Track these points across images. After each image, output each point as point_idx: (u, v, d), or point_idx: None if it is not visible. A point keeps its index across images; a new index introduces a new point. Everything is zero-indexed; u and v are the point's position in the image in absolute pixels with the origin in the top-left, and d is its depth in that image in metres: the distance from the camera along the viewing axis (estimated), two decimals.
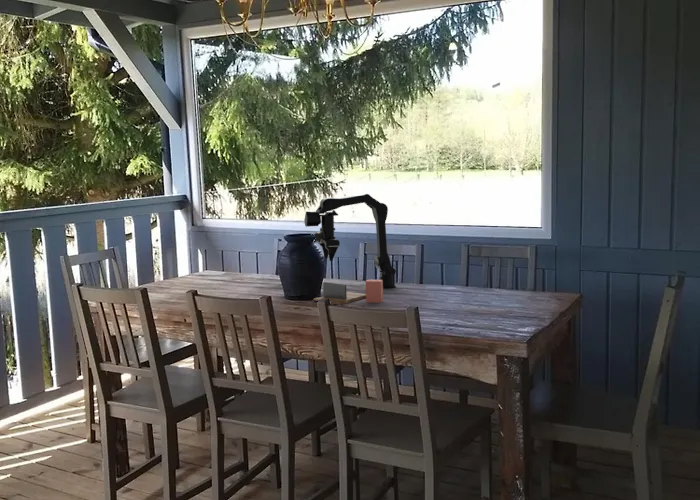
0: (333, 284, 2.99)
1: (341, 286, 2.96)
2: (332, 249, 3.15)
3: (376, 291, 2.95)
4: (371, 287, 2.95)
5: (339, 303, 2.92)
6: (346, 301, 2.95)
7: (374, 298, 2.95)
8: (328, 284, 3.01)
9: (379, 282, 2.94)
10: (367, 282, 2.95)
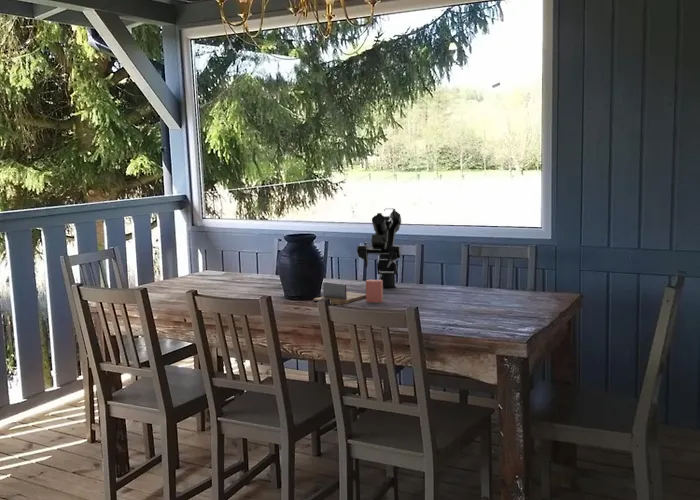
0: (333, 284, 2.99)
1: (341, 286, 2.96)
2: (391, 258, 3.05)
3: (376, 291, 2.95)
4: (371, 287, 2.95)
5: (339, 303, 2.92)
6: (346, 301, 2.95)
7: (374, 298, 2.95)
8: (328, 284, 3.01)
9: (379, 282, 2.94)
10: (367, 282, 2.95)
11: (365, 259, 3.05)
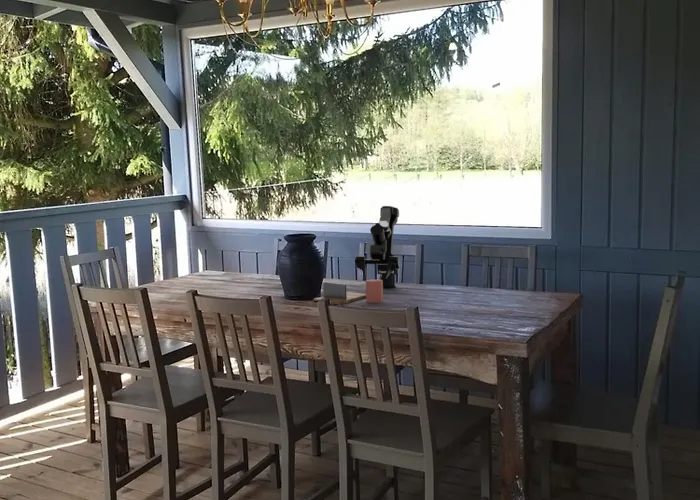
0: (333, 284, 2.99)
1: (341, 286, 2.96)
2: (390, 268, 3.01)
3: (376, 291, 2.95)
4: (371, 287, 2.95)
5: (339, 303, 2.92)
6: (346, 301, 2.95)
7: (374, 298, 2.95)
8: (328, 284, 3.01)
9: (379, 282, 2.94)
10: (367, 282, 2.95)
11: (363, 270, 3.01)
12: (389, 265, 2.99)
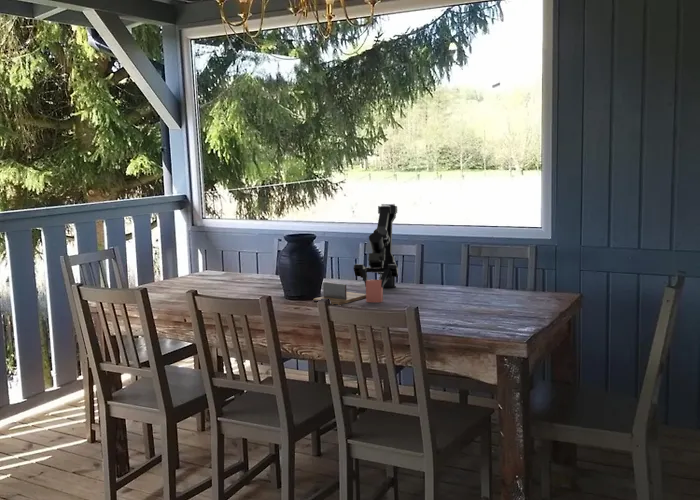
0: (333, 284, 2.99)
1: (341, 286, 2.96)
2: (386, 277, 2.98)
3: (376, 291, 2.95)
4: (371, 287, 2.95)
5: (339, 303, 2.92)
6: (346, 301, 2.95)
7: (374, 298, 2.95)
8: (328, 284, 3.01)
9: (379, 282, 2.94)
10: (367, 282, 2.95)
11: (364, 278, 2.97)
12: (385, 273, 2.96)
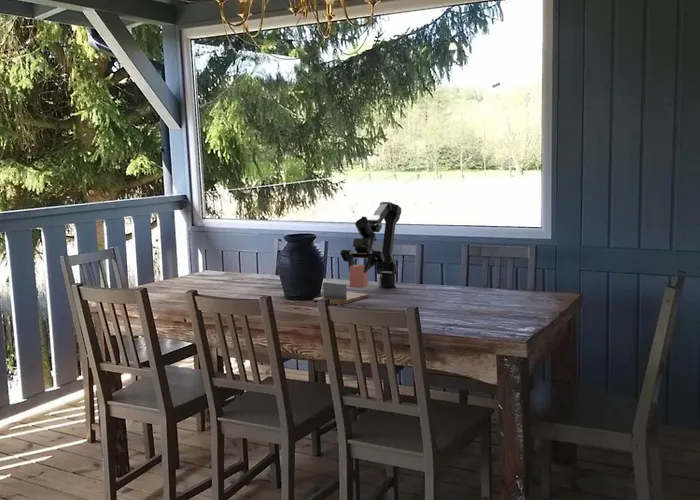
0: (333, 284, 2.99)
1: (341, 286, 2.96)
2: (370, 262, 2.98)
3: (359, 276, 2.96)
4: (355, 272, 2.97)
5: (339, 303, 2.92)
6: (346, 301, 2.95)
7: (357, 283, 2.97)
8: (328, 284, 3.01)
9: (362, 267, 2.95)
10: (351, 267, 2.97)
11: (349, 263, 2.99)
12: (369, 259, 2.97)
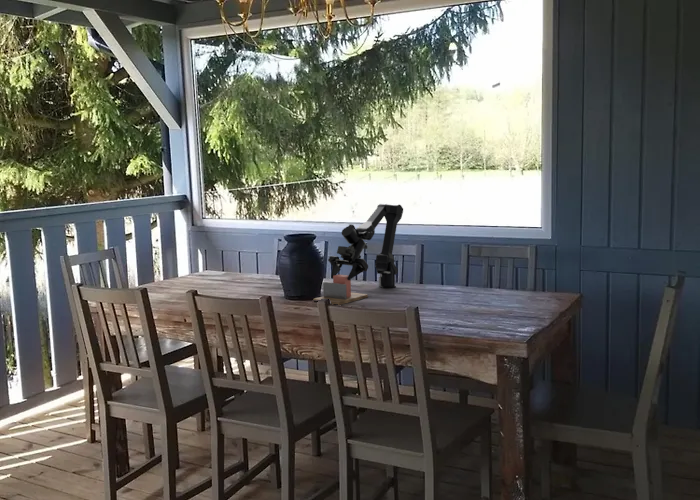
0: (333, 284, 2.99)
1: (341, 286, 2.96)
2: (355, 270, 3.01)
3: None
4: (337, 282, 3.02)
5: (339, 303, 2.92)
6: (346, 301, 2.95)
7: None
8: (328, 284, 3.01)
9: (343, 277, 3.00)
10: (334, 277, 3.03)
11: (332, 270, 3.06)
12: (353, 267, 3.00)
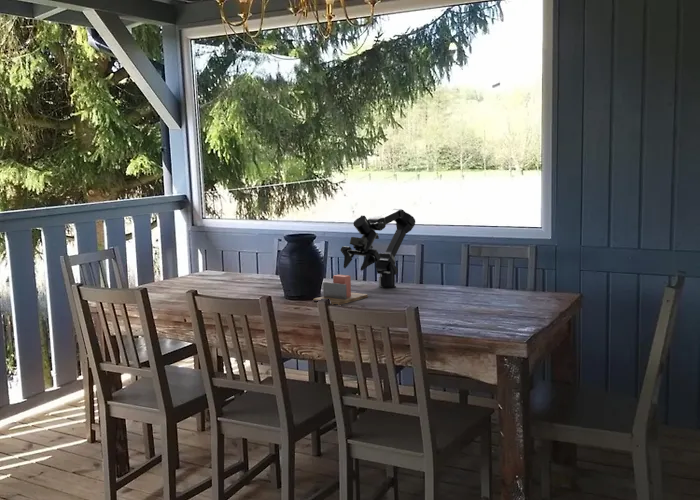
0: (333, 284, 2.99)
1: (341, 286, 2.96)
2: (368, 261, 3.08)
3: None
4: (337, 282, 3.02)
5: (339, 303, 2.92)
6: (346, 301, 2.95)
7: None
8: (328, 284, 3.01)
9: (343, 277, 3.00)
10: (334, 277, 3.03)
11: (345, 260, 3.12)
12: (366, 258, 3.06)
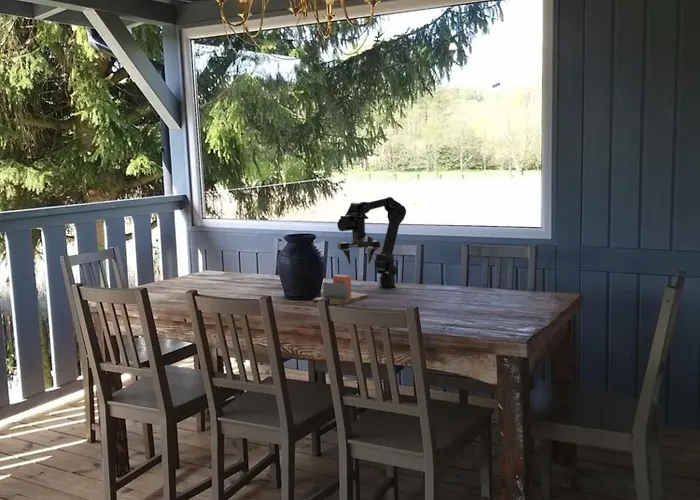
0: (333, 284, 2.99)
1: (341, 286, 2.96)
2: None
3: None
4: (337, 282, 3.02)
5: (339, 303, 2.92)
6: (346, 301, 2.95)
7: None
8: (328, 284, 3.01)
9: (343, 277, 3.00)
10: (334, 277, 3.03)
11: (348, 257, 3.14)
12: (372, 251, 3.16)
